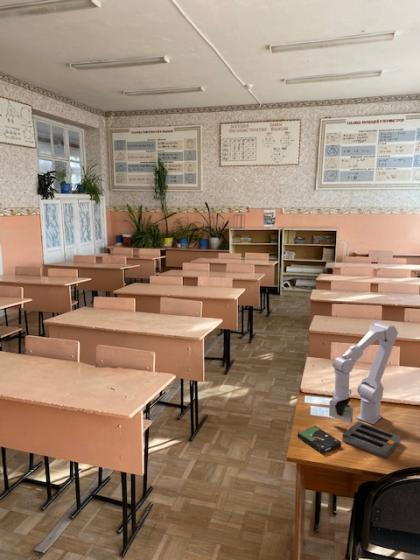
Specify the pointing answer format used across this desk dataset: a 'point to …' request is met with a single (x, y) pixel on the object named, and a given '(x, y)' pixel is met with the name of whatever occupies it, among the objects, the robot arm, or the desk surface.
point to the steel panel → (346, 415)
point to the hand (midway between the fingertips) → (340, 414)
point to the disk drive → (319, 439)
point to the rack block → (371, 439)
